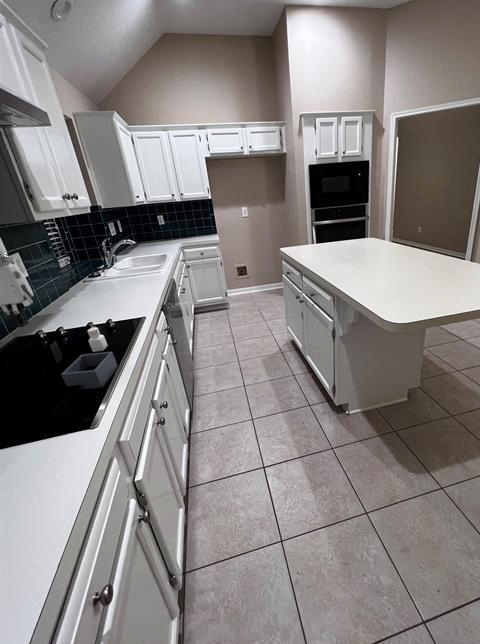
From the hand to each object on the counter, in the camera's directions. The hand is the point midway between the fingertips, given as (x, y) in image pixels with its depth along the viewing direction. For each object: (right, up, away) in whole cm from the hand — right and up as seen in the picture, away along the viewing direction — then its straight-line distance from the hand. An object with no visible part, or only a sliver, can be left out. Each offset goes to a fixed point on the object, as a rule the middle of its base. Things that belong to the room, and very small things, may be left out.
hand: (22, 325), depth 90 cm
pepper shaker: (+8, -11, +25) cm, 29 cm away
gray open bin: (+9, -15, +9) cm, 20 cm away
